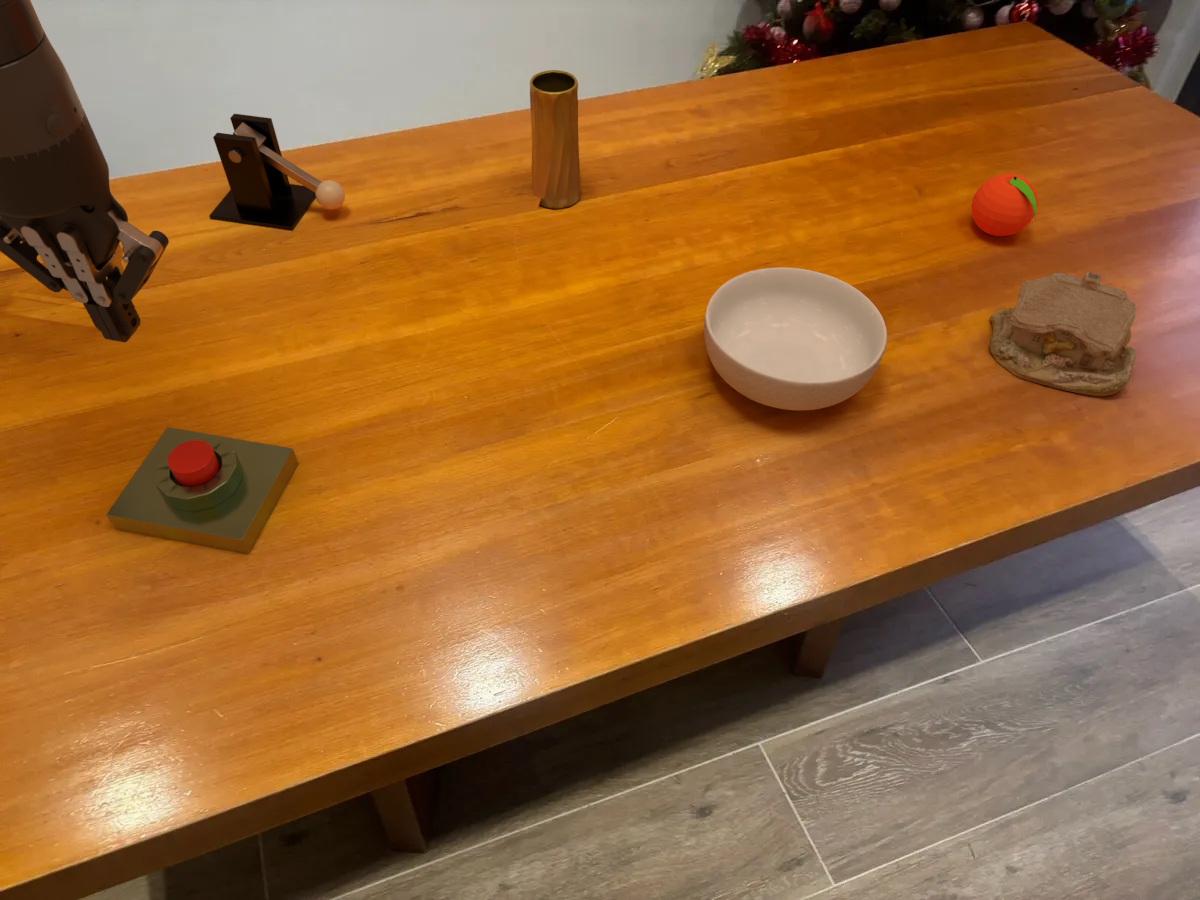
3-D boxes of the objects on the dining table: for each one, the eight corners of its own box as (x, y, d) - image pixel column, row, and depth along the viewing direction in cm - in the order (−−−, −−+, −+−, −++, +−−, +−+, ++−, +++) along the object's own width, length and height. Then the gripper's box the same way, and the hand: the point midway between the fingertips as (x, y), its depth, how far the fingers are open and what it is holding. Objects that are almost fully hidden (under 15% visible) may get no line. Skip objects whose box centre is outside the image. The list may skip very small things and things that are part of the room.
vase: (520, 193, 109) (514, 80, 98) (557, 174, 112) (555, 62, 101) (554, 215, 106) (552, 101, 95) (591, 195, 109) (593, 82, 98)
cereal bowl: (881, 341, 93) (899, 287, 87) (854, 457, 83) (873, 404, 77) (722, 302, 96) (730, 248, 91) (677, 408, 86) (684, 355, 81)
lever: (343, 204, 104) (353, 185, 102) (332, 220, 102) (342, 201, 100) (237, 137, 100) (245, 116, 98) (224, 152, 98) (232, 132, 96)
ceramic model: (970, 361, 91) (1006, 283, 84) (998, 299, 98) (1034, 222, 90) (1115, 414, 87) (1166, 337, 79) (1134, 346, 93) (1184, 268, 85)
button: (166, 482, 75) (158, 469, 73) (187, 450, 77) (180, 436, 76) (206, 489, 74) (199, 476, 73) (226, 457, 76) (220, 443, 75)
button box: (116, 530, 76) (96, 501, 73) (175, 442, 82) (159, 412, 79) (249, 555, 74) (235, 527, 71) (298, 464, 81) (288, 434, 78)
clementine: (1043, 244, 104) (1068, 191, 99) (996, 260, 102) (1020, 206, 97) (996, 207, 109) (1018, 154, 103) (950, 221, 107) (970, 168, 101)
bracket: (322, 198, 107) (301, 114, 99) (294, 238, 102) (270, 152, 94) (244, 187, 108) (216, 103, 100) (212, 226, 103) (181, 141, 95)
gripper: (149, 101, 55) (229, 315, 69) (-44, 73, 57) (70, 288, 70) (80, 168, 51) (180, 383, 64) (-130, 136, 52) (11, 353, 65)
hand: (122, 333), depth 67 cm, fingers closed
